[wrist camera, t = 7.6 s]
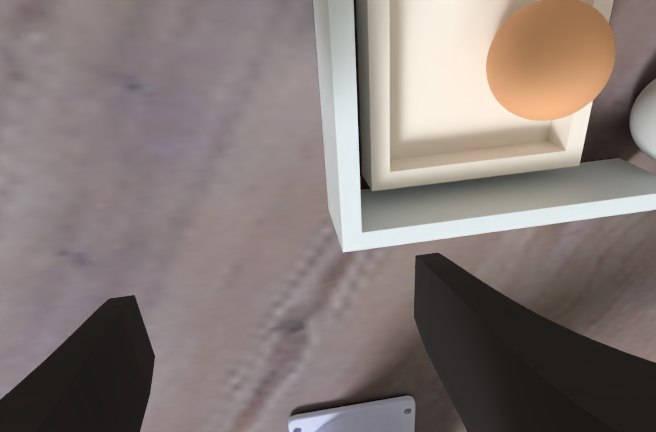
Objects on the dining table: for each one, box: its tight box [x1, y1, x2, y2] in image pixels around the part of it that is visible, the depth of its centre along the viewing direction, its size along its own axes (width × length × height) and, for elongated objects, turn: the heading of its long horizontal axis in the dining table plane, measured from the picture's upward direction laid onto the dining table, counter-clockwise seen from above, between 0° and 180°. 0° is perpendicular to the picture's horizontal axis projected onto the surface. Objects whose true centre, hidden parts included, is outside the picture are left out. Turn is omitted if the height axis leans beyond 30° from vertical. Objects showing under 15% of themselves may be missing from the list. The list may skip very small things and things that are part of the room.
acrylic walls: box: [313, 0, 656, 252], centre depth 18 cm, size 11×15×4 cm
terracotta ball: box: [486, 0, 616, 121], centre depth 17 cm, size 4×4×4 cm
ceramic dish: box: [356, 0, 614, 191], centre depth 19 cm, size 10×10×2 cm
